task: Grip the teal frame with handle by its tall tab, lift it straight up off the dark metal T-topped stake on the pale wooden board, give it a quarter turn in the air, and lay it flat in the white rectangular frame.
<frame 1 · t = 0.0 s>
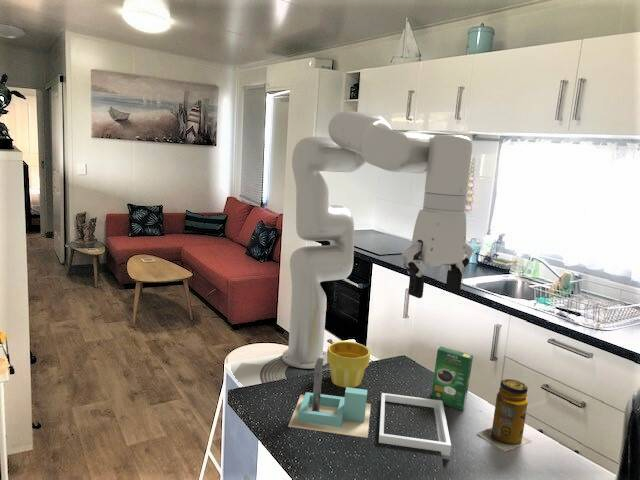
hand: (434, 293, 95), 31 cm above the kitchen island, tool pointing down, fingers open, 9 cm apart
condiment: (503, 438, 105), on the kitchen island
plant pot: (345, 387, 123), on the kitchen island
teal frame with handle: (322, 413, 107), point 1 cm above the kitchen island, touching board
stake: (315, 418, 107), resting on board
board: (331, 421, 107), on the kitchen island
white rectangular frame: (411, 429, 105), on the kitchen island
coffee box: (448, 404, 118), on the kitchen island
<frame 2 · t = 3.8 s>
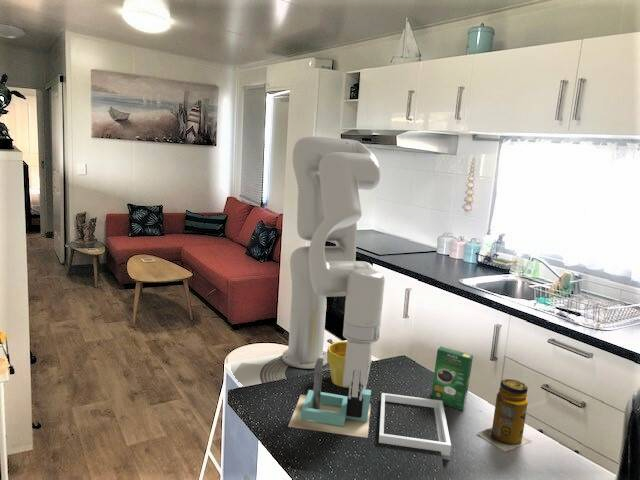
hand: (354, 412, 106), 3 cm above the kitchen island, tool pointing down, fingers closed on teal frame with handle
teal frame with handle: (325, 411, 106), point 2 cm above the kitchen island, touching gripper
everything else where it was.
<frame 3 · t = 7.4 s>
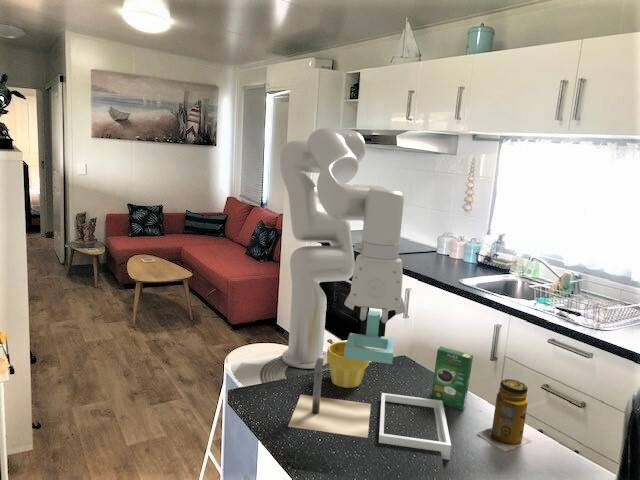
hand: (372, 337, 103), 19 cm above the kitchen island, tool pointing down, fingers closed on teal frame with handle
teal frame with handle: (369, 352, 97), point 18 cm above the kitchen island, touching gripper
everything else where it was.
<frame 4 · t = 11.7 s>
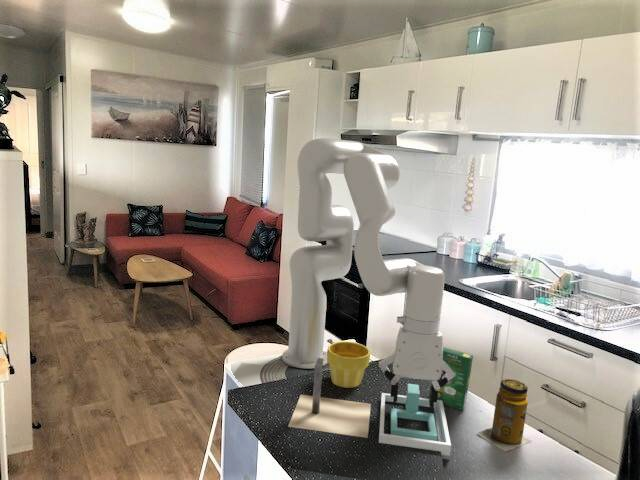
hand: (413, 401, 109), 4 cm above the kitchen island, tool pointing down, fingers open, 7 cm apart
teal frame with handle: (412, 430, 104), point 1 cm above the kitchen island, touching white rectangular frame
everything else where it was.
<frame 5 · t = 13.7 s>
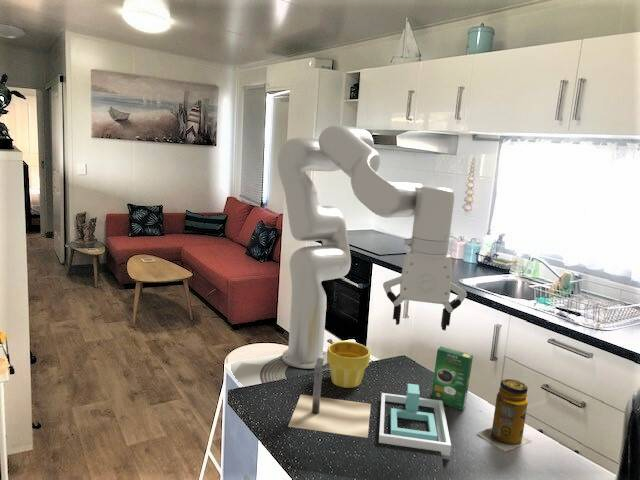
hand: (420, 325, 106), 21 cm above the kitchen island, tool pointing down, fingers open, 9 cm apart
nothing on the kitchen island moved.
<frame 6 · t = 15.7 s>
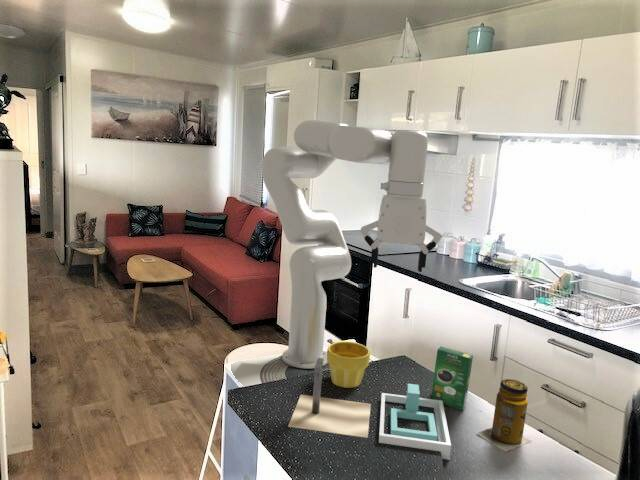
hand: (397, 268, 109), 32 cm above the kitchen island, tool pointing down, fingers open, 9 cm apart
nothing on the kitchen island moved.
at the end: teal frame with handle inside the target area on the white rectangular frame (0.4 cm from its centre), point 0.8 cm above the white rectangular frame's base; teal frame with handle tilted 0°; the gripper is holding nothing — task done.
